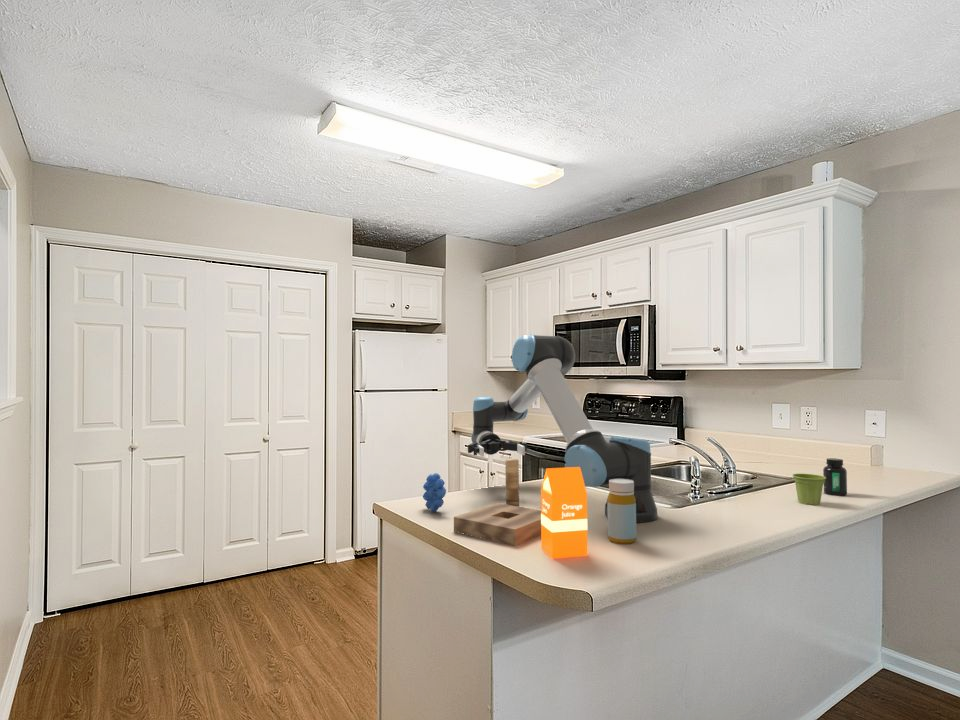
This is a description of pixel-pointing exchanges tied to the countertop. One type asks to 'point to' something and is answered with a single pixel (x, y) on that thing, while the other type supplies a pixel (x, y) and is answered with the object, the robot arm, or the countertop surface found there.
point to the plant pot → (809, 488)
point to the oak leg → (512, 482)
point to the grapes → (434, 492)
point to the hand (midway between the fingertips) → (503, 451)
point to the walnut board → (501, 523)
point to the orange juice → (564, 513)
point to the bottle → (621, 511)
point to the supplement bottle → (835, 478)
